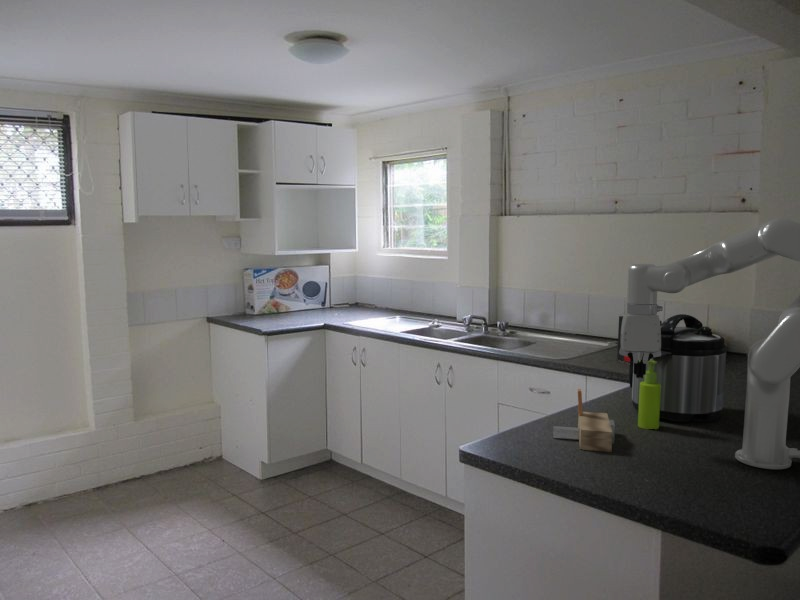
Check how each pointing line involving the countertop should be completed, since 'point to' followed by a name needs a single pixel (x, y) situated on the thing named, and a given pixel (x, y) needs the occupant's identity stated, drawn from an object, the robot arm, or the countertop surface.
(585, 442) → the block
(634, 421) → the countertop surface
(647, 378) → the soap dispenser
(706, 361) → the pressure cooker
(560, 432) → the lynch pin
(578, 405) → the bar
